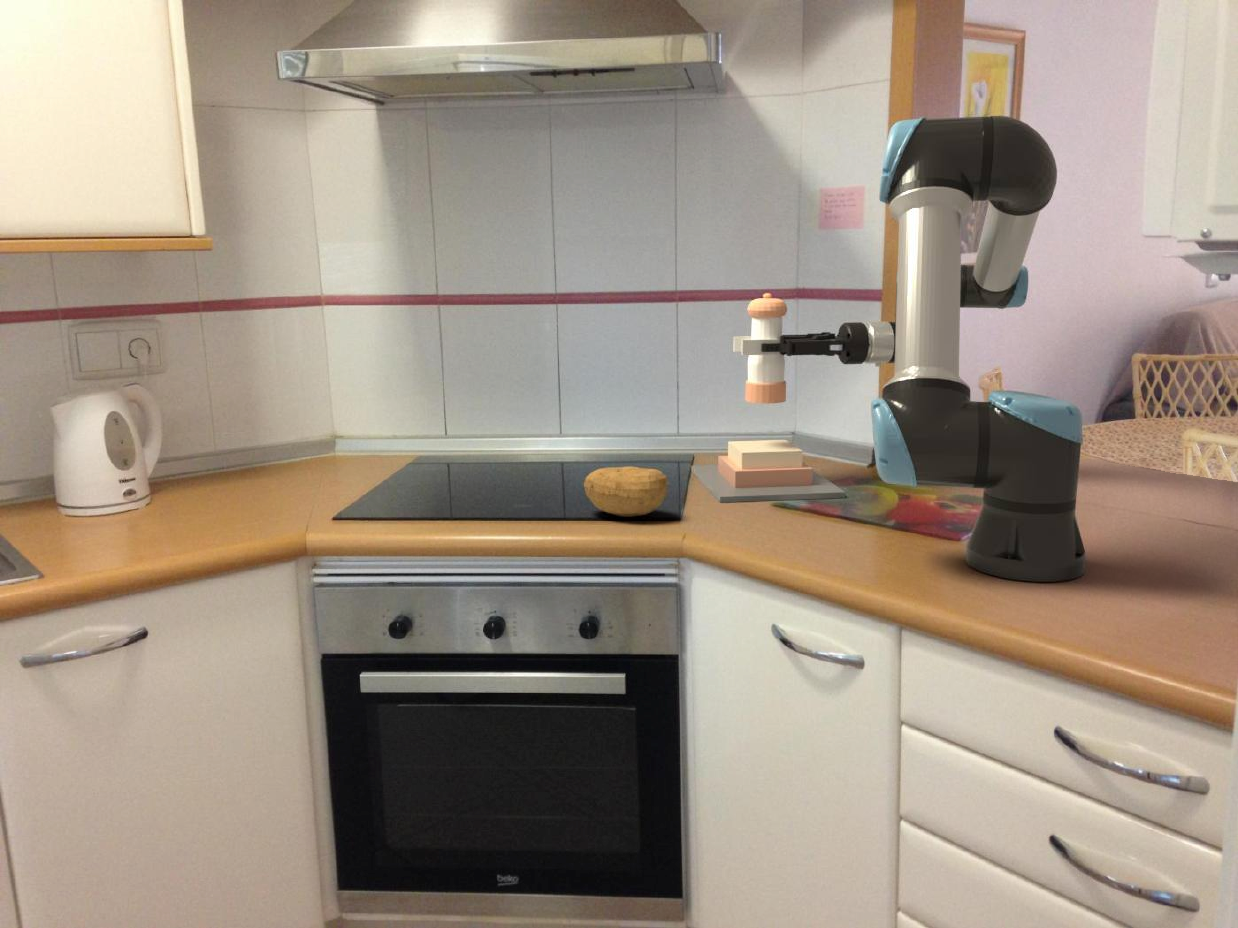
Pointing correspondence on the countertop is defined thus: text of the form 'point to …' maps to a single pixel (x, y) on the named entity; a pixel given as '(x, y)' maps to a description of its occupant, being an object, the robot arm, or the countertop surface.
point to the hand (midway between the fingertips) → (738, 345)
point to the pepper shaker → (766, 369)
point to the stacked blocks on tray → (764, 474)
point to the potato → (626, 490)
